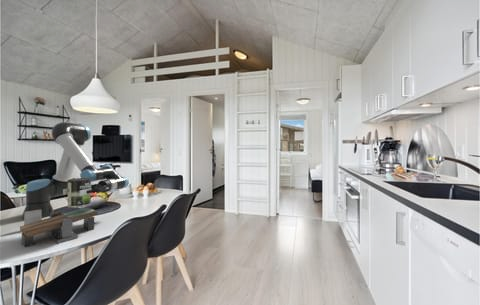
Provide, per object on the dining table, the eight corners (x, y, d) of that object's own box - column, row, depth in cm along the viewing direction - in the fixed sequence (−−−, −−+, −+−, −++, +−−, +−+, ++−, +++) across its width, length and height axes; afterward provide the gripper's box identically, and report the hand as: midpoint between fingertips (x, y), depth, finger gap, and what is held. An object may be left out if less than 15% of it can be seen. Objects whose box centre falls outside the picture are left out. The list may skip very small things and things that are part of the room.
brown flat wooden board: (20, 230, 105) (19, 226, 105) (86, 209, 127) (86, 206, 127) (27, 238, 96) (26, 233, 96) (97, 214, 119) (97, 210, 118)
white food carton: (41, 228, 122) (41, 210, 122) (24, 231, 117) (24, 212, 117) (40, 226, 125) (40, 208, 124) (24, 229, 120) (24, 211, 119)
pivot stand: (18, 239, 106) (18, 219, 106) (84, 224, 129) (85, 207, 129) (28, 251, 95) (28, 228, 94) (99, 232, 117) (99, 213, 117)
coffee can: (95, 203, 122) (95, 178, 122) (78, 208, 112) (78, 180, 112) (80, 202, 124) (80, 177, 124) (62, 206, 114) (62, 180, 114)
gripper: (122, 192, 133) (89, 201, 111) (92, 190, 138) (55, 198, 116) (122, 180, 133) (89, 186, 111) (92, 178, 138) (55, 184, 116)
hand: (71, 192), depth 114 cm, fingers closed on coffee can, 10 cm apart
